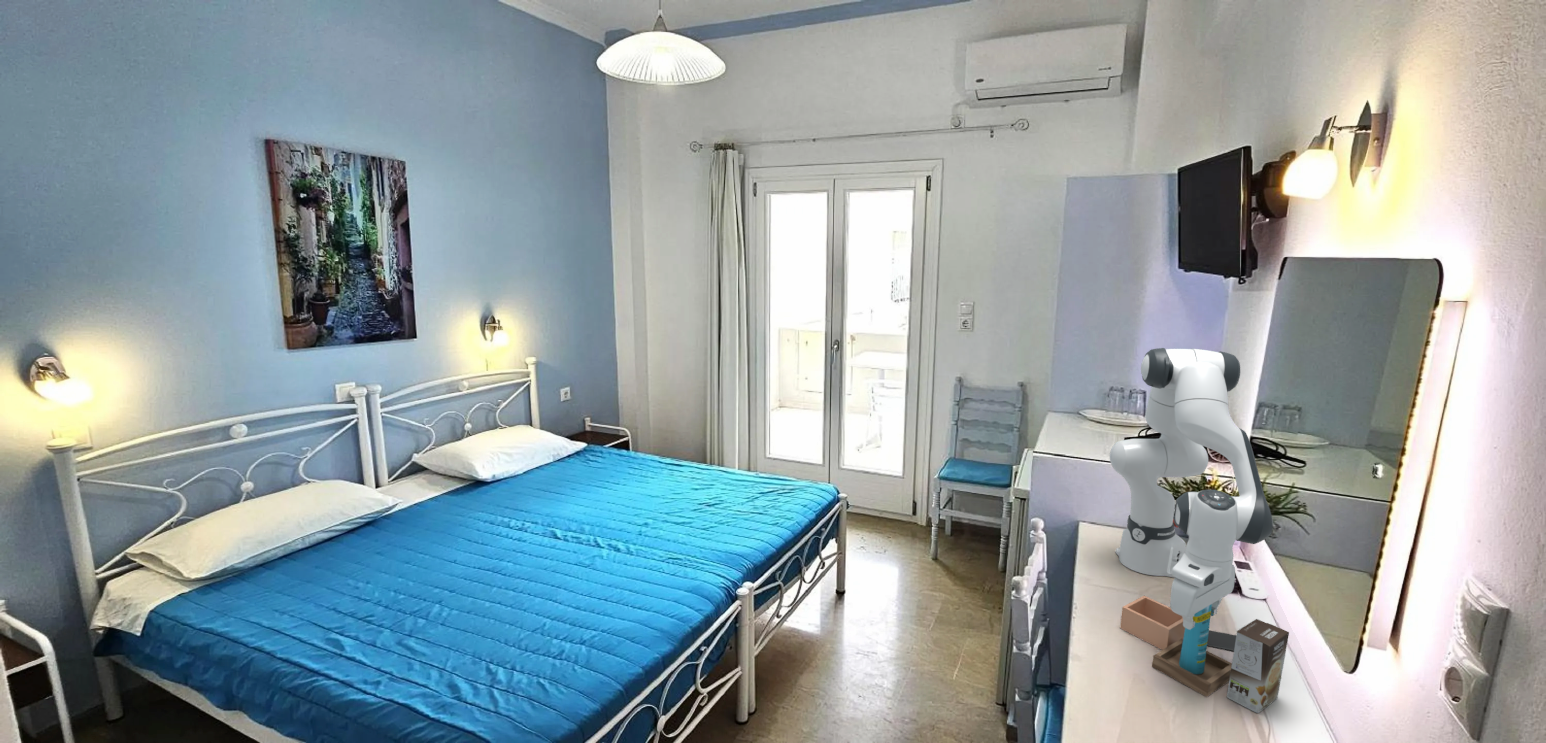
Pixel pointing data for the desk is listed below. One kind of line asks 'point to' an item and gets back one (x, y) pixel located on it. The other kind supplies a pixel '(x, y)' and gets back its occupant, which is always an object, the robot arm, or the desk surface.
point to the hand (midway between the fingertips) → (1199, 620)
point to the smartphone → (1221, 640)
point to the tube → (1196, 643)
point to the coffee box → (1257, 665)
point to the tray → (1203, 683)
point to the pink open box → (1152, 622)
